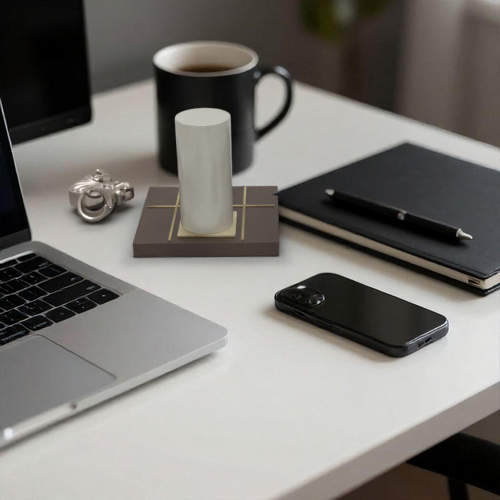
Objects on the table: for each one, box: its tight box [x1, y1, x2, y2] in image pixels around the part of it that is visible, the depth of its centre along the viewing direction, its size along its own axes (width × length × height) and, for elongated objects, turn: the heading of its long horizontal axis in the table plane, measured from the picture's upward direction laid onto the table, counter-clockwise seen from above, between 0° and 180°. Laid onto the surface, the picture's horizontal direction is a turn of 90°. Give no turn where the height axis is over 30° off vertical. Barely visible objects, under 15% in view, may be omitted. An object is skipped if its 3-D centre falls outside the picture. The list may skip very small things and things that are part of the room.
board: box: [132, 185, 280, 258], centre depth 95 cm, size 14×14×2 cm
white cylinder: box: [174, 107, 233, 234], centre depth 89 cm, size 5×5×11 cm
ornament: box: [68, 167, 135, 223], centre depth 98 cm, size 8×7×4 cm
